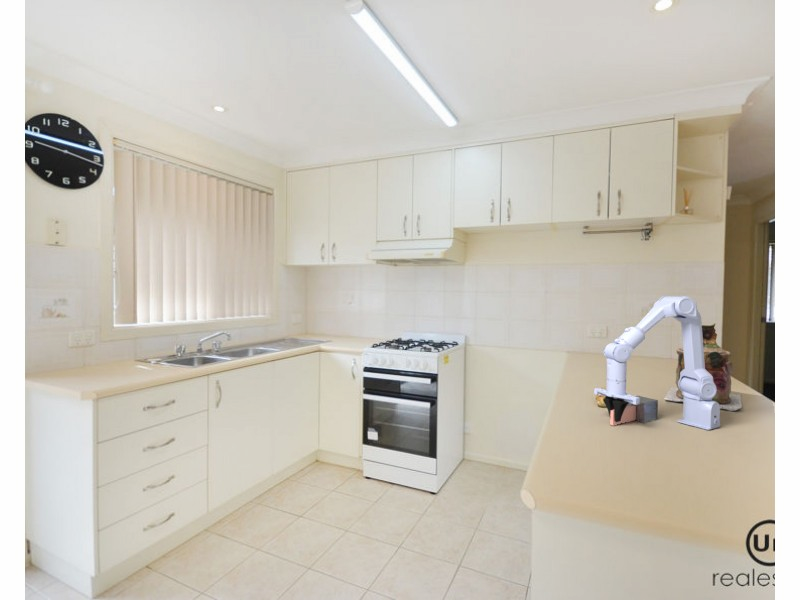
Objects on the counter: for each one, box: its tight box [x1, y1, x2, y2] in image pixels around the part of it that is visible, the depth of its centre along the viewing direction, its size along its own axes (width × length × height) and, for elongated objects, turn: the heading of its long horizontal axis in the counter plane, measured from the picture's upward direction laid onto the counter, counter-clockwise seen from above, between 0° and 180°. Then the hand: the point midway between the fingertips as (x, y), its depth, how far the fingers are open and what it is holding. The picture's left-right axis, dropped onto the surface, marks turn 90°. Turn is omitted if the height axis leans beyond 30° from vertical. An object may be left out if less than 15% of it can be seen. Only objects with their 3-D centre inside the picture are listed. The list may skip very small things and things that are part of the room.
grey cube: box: [626, 395, 659, 424], centre depth 140 cm, size 7×8×7 cm
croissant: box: [595, 386, 607, 408], centre depth 160 cm, size 21×10×8 cm, turn 134°
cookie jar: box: [664, 323, 743, 412], centre depth 164 cm, size 25×25×32 cm
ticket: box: [609, 405, 637, 426], centre depth 135 cm, size 1×13×5 cm, turn 119°
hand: (615, 420), depth 133 cm, fingers closed, pressing on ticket
